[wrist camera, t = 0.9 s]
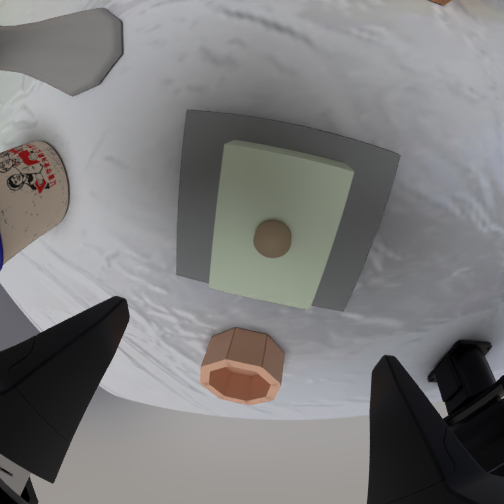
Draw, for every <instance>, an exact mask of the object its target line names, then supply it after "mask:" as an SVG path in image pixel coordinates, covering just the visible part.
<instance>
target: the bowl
mask: <svg viewBox="0 0 504 504" xmlns="http://www.w3.org/2000/svg"><path fill="white" fill-rule="evenodd" d="M283 362H284V352H283V351H282V350H281V349H280V348H279V347H278V345H277V344H276V343H275V342H274V341H273V340H272V339H271V338H270V337H269V336H268V335H267V334H263V333H258V332H253V331H249V330H244V329H240V328H233V329H230V330H228V331H225V332H223V333H220V334H218V335H215V336H213V337H212V338H211V341H210V343H209V346H208V349H207V351H206V354H205V357H204V360H203V362H202V365H201V374H200V383H201V385H203V386H204V387H205V388H207V389H208V390H209V391H210V392H212V393H213V394H214V395H216V396H217V397H218V398H221V399H223V400H227V401H231V402H236V403H240V404H245V405H253V404H258V403H263V402H267V401H272V400H274V399H275V397H276V395H277V393H278V390H279V388H280V386H281V381H282V372H283Z"/></svg>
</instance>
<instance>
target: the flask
mask: <svg viewBox="0 0 504 504" xmlns="http://www.w3.org/2000/svg"><path fill="white" fill-rule="evenodd" d="M121 54H122V40H121V21H120V20H119V19H118V18H116V17H115V16H114V15H112V14H111V13H110V12H109V11H107V10H106V9H105V8H96V9H90V10H85V11H81V12H76V13H72V14H68V15H63V16H59V17H55V18H51V19H47V20H43V21H40V22H35V23H28V24H22V25H17V26H0V70H4V71H12V72H19V73H23V74H26V75H28V76H30V77H33V78H35V79H38V80H40V81H42V82H45V83H47V84H49V85H51V86H53V87H55V88H57V89H59V90H61V91H63V92H64V93H66V94H69V95H71V96H75V95H77V94H79V93H81V92H83V91H85V90H88V89H90V88H92V87H94V86H96V85H99V83H100V82H101V81H102V79H103V78H104V76H105V75H106V74H107V72H108V71H109V70H110V68H111V67H112V66H113V64H114V63H115V62H116V60H117V59H118V58H119V57H120V55H121Z"/></svg>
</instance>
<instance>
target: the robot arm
mask: <svg viewBox="0 0 504 504" xmlns="http://www.w3.org/2000/svg"><path fill="white" fill-rule="evenodd" d="M129 318H130V315H129V310H128V304H127V300H126V299H125V298H122V297H119V296H114V297H112V298H110V299H107V300H105V301H103V302H101V303H99V304H97V305H95V306H93V307H91V308H89V309H87V310H85V311H83V312H81V313H79V314H77V315H75V316H73V317H71V318H69V319H67V320H65V321H63V322H61V323H59V324H57V325H55V326H53V327H51V328H49V329H47V330H45V331H43V332H41V333H39V334H37V336H33V337H31V338H29V339H27V340H25V341H23V342H21V343H19V344H17V345H15V346H12V347H10V348H8V349H5V350H3V351H0V504H38V499H37V497H36V494H35V492H34V488H33V486H32V483H31V480H30V474H31V473H33V474H35V475H36V476H39V477H40V478H42V479H44V480H46V481H48V482H50V483H54V481H55V479H56V477H57V474H58V472H59V469H60V467H61V464H62V462H63V459H64V457H65V455H66V452H67V450H68V448H69V445H70V443H71V441H72V438H73V436H74V434H75V432H76V430H77V427H78V425H79V423H80V421H81V419H82V417H83V415H84V413H85V411H86V409H87V407H88V404H89V403H90V400H91V399H92V397H93V395H94V393H95V391H96V389H97V387H98V385H99V383H100V381H101V379H102V377H103V376H104V374H105V372H106V370H107V368H108V366H109V364H110V363H111V361H112V359H113V357H114V355H115V353H116V350H117V348H118V345H119V343H120V341H121V338H122V336H123V334H124V331H125V329H126V327H127V324H128V322H129ZM491 347H492V345H491V343H486V342H472V341H458V342H457V343H456V344H455V345H454V347H453V348H452V349H451V351H450V352H449V353H448V354H447V356H446V357H445V358H444V359H443V361H442V362H441V363H440V364H439V365H438V366H437V368H436V369H435V370H434V371H433V372H432V373H431V375H430V376H429V377H428V382H437V383H438V386H439V390H440V393H441V397H442V400H443V402H445V405H446V409H447V412H448V416H447V417H445V418H443V419H442V417H441V416H440V414H439V413H438V412H437V410H436V409H435V408H434V406H433V405H432V404H431V402H430V401H429V400H428V398H427V397H426V396H425V394H424V393H423V392H422V390H421V389H420V388H419V386H418V385H417V384H416V383H415V381H414V380H413V379H412V377H411V376H410V375H409V374H408V372H407V371H406V370H405V368H404V367H403V366H402V365H401V363H400V362H399V361H398V360H397V358H396V357H395V356H390V355H384V356H383V357H382V358H381V359H380V361H379V362H378V363H377V365H376V366H375V367H374V369H373V371H372V379H371V397H370V465H369V484H368V498H367V504H504V398H503V399H501V398H502V397H503V396H504V375H503V376H502V377H500V379H499V380H498V381H497V382H496V380H495V378H494V375H493V373H492V371H491V369H490V366H489V364H488V362H487V360H486V358H485V355H486V354H487V353H488V351H489V350H490V349H491Z"/></svg>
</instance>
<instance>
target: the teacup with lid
mask: <svg viewBox="0 0 504 504" xmlns="http://www.w3.org/2000/svg"><path fill="white" fill-rule="evenodd" d="M67 205H68V183H67V178H66V174H65V170H64V167H63V165H62V162H61V160H60V158H59V156H58V155H57V153H56V152H55V151H54V149H53V148H52V147H50V146H49V145H48V144H46V143H44V142H41V141H34V142H30V143H27V144H24V145H21V146H18V147H15V148H12V149H10V150H7V151H4V152H2V153H0V271H1V269H2V266H3V264H5V263H6V262H7V261H8V260H10V259H11V258H12V257H13V256H15V255H16V254H17V253H19V252H20V251H21V250H23V249H24V248H25V247H27V246H28V245H29V244H31V243H32V242H33V241H35V240H36V239H38V238H39V237H40V236H42V235H43V234H45V233H46V232H48V231H49V230H51V229H52V228H54V227H55V226H57V225H58V224H59V223H60V222H61V221H62V219H63V217H64V215H65V213H66V209H67Z"/></svg>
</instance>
